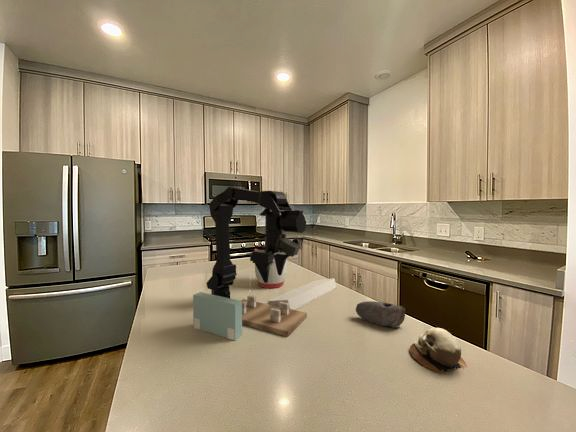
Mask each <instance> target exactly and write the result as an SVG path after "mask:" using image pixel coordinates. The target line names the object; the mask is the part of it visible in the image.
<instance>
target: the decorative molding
mask: <svg viewBox="0 0 576 432" xmlns="http://www.w3.org/2000/svg"><path fill="white" fill-rule="evenodd" d="M336 289H337V283H336V280H335V278H333V277H332V278H325V279H324V278H322V279H316V280H313V281H311V282H308V283H306V284H304V285H301V286H299V287H296V288H295V289H293V290H290V291H288V292H286V293H282V294H281V295H279V296H276V297H274V298H271V299H268V300H267V302H268V303H267V304H269V305H273V306H278V307H279V303H280V302H285V303H289V309H292V310H296V311H298V310H299V309H301V308H302V307H304V306H306V305H308V304H310V303H312V302H313V301H315V300H318V299H319V298H321V297H323V296H325V295H326V294H328V292H329V293H331V292H332V291H334V290H336ZM324 294H325V295H324ZM322 295H323V296H322ZM317 298H318V299H317Z"/></svg>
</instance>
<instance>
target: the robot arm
mask: <svg viewBox="0 0 576 432" xmlns="http://www.w3.org/2000/svg"><path fill="white" fill-rule="evenodd" d="M239 200H240V201H241V200H242V201H246V202H250V203H251V202H252V203H256V204H257V205H259V206H260V207H262V208H264V209H263V211H262V212H259V216H261V217H262V216H263V217H265V219H264V221H265V222H264V223H265V224H264V225H265V226H264V228H265V229H264V231H265V232H264V233H262V238H264V245H262V247H261V249H258V250H256V251H255V250H253V251H252V252H251V253H250V254H249V260H250V262H252V263H253V264H254V266H255V265H256V267H257V269H258V270H259V272H260V275H261V277H262V279H263V281H264V283H268V278H269V270H270V266H271V265H272V264H273V263H274V262H273V259H275V264H276V268H277V272H278V275H282V272H283V268H284V265H285V262H286V259H287V260H288V259H289V258H290V257H291V258H294V256H297V255H298V253H299V251H300V250H301V249H302V247H301V246H302V244H301V240H300V239H299V238H298V237H297V238H293V239H288V238H287V235H286V233H298V234H303V232H305V230H306V228H307V220H306V216H305V214H304V211H303V210H301V209H298V210H297V209H295V210H294V209H293V208H292V206H291V205H290V203H289V201H288V199H287V195H286V194H285V192H283V191H275V190H260V191H258V190H252V189H246V188H241V187H237V186H228V187H227V188H226V189H225V190H224V191H222V192H221V193H218V194H217V195H216V196H215V197H214V198H213V199H212V200H211V201H210V202H209V214H210V217H211V218H212V220H213V222H214V223H215V225H214V227H215V253H216V254H215V255H216V259H215V263H214V265H213V267H212V271H211V274H212V275H211V277H210V278H209V279H208V280H207V282H206V286H207V287H206V288H207V289H209V290H211V291H210V292H211V293H210V294H212V295H217V296H221V297H226V298H230V299H231V290H230V286H233V285H234V282H235V280H236V276H237V275H238V273H237V264H234V263H233V261H232V260H231V248H230V247H231V246H230V245H231V244H230V243H231V242H230V241H231V240H230V220H231V219H232V217H233V215H234V214H233V213H234V208H235V207H236V206H238V204H239V203H238V202H239Z"/></svg>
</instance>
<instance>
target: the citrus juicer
mask: <svg viewBox="0 0 576 432" xmlns="http://www.w3.org/2000/svg"><path fill="white" fill-rule="evenodd" d="M256 250H259V249H258V248H254V251H256ZM273 262H274V263H273V264H272V265H271V266H270V270H269V278H268V283H264V281H263V279H262V277H261V275H260V272H259V270H258V269H257V267H256V265H255V264H254V273H255V279H256V282H257V284H258V286H259V287H262V288H267V289H276V288H279V287H282V286H283V285H284V282H285V280H286V276H287V271H288V269H287V268H288V258H287V259H286V262H285V265H284V268H283V272H282V275H278V272H277V268H276V264H275V259H273Z"/></svg>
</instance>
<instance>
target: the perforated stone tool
mask: <svg viewBox="0 0 576 432" xmlns="http://www.w3.org/2000/svg"><path fill="white" fill-rule="evenodd" d="M355 312H356V314H357V316H359V318H361V319H362V320H365V321H366V322H370V323H372V324H375V325H379V326H382V327H391V328H393V329H395V328H398V327H399V326H401V325H402V324H403V323H404V321H405V317H406V309H405V308H404V306H402V305H397V304H393V303H388V302H382V301H373V300H372V301H362V302H359V303H357V304H356V307H355Z"/></svg>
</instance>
